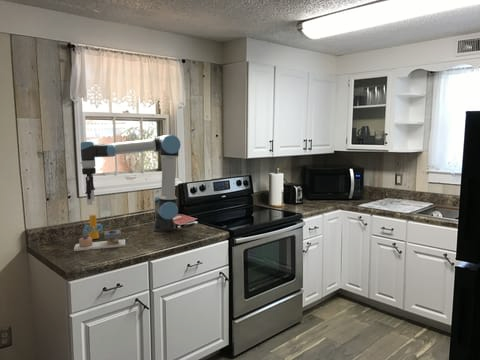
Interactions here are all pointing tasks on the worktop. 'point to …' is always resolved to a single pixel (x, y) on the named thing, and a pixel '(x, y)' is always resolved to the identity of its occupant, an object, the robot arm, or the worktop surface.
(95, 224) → the tube with blue rings
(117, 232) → the square frame with hole
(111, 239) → the stand
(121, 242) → the board
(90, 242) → the peg
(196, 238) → the worktop surface
